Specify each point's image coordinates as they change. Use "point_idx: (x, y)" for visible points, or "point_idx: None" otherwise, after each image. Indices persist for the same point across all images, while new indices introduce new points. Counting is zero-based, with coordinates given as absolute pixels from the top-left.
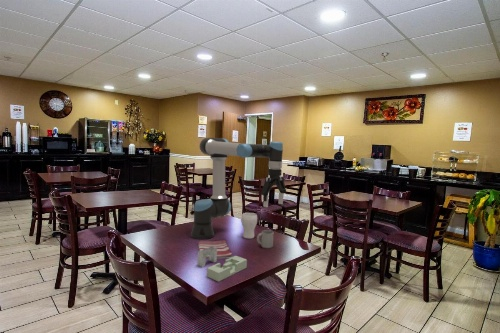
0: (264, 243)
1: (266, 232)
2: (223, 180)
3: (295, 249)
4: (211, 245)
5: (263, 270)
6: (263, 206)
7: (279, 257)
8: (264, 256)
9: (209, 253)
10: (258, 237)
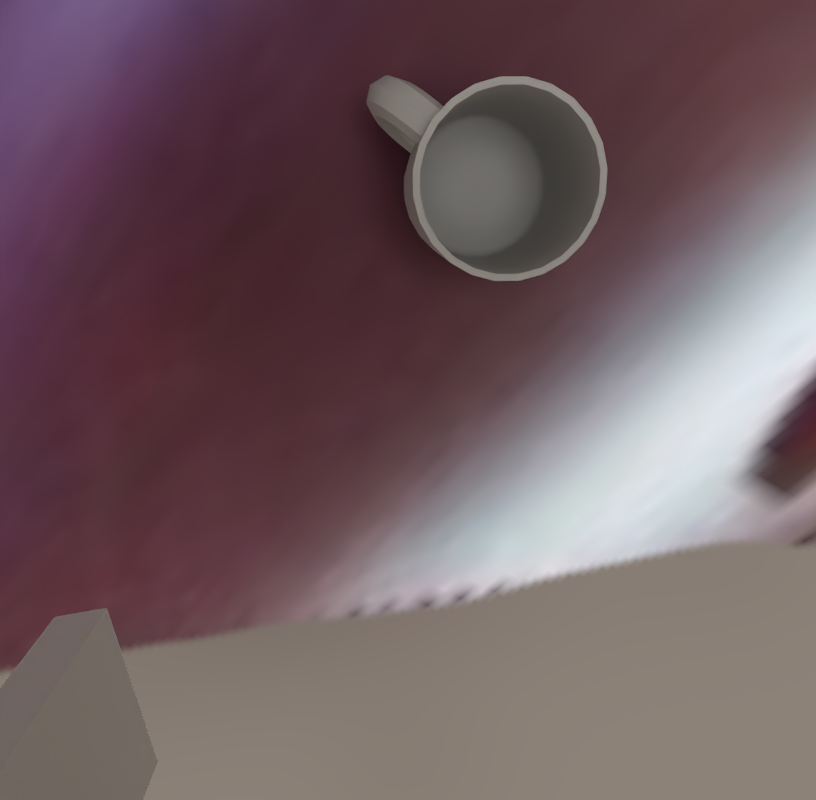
0: (411, 218)
1: (548, 102)
2: None
3: (676, 434)
4: None
5: None
6: (57, 622)
7: (373, 508)
8: (252, 416)
9: None
10: (377, 116)
